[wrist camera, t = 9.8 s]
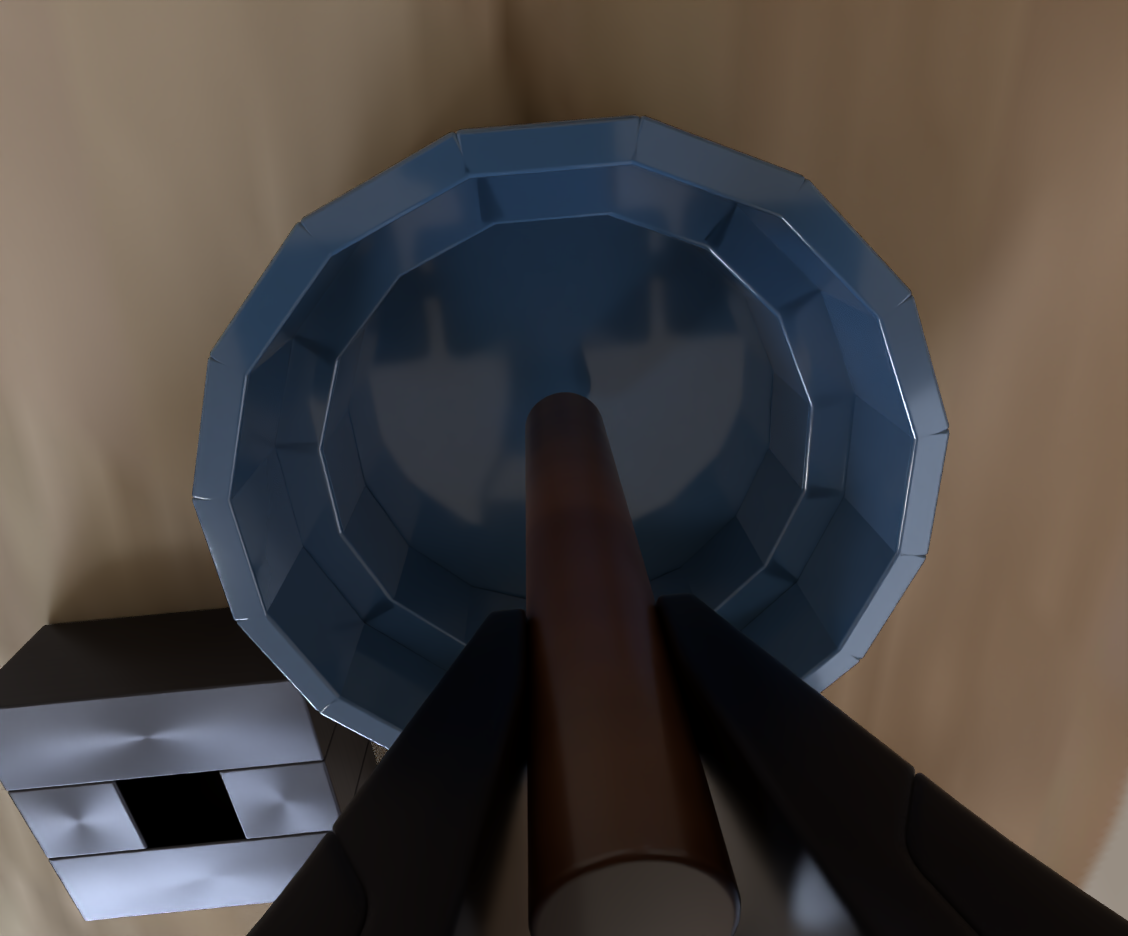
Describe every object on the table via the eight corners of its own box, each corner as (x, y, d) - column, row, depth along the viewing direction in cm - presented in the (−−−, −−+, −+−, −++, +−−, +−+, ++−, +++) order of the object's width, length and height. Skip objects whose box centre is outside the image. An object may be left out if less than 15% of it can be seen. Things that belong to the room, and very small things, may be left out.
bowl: (804, 609, 19) (893, 757, 14) (355, 651, 19) (301, 814, 14) (851, 102, 14) (1014, 82, 9) (224, 154, 13) (71, 161, 9)
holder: (386, 797, 21) (365, 894, 18) (141, 820, 21) (84, 922, 18) (333, 597, 18) (298, 679, 15) (43, 624, 18) (-43, 711, 15)
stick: (604, 459, 14) (740, 979, 5) (529, 467, 14) (538, 1001, 5) (600, 387, 14) (747, 844, 5) (521, 394, 14) (517, 867, 5)
